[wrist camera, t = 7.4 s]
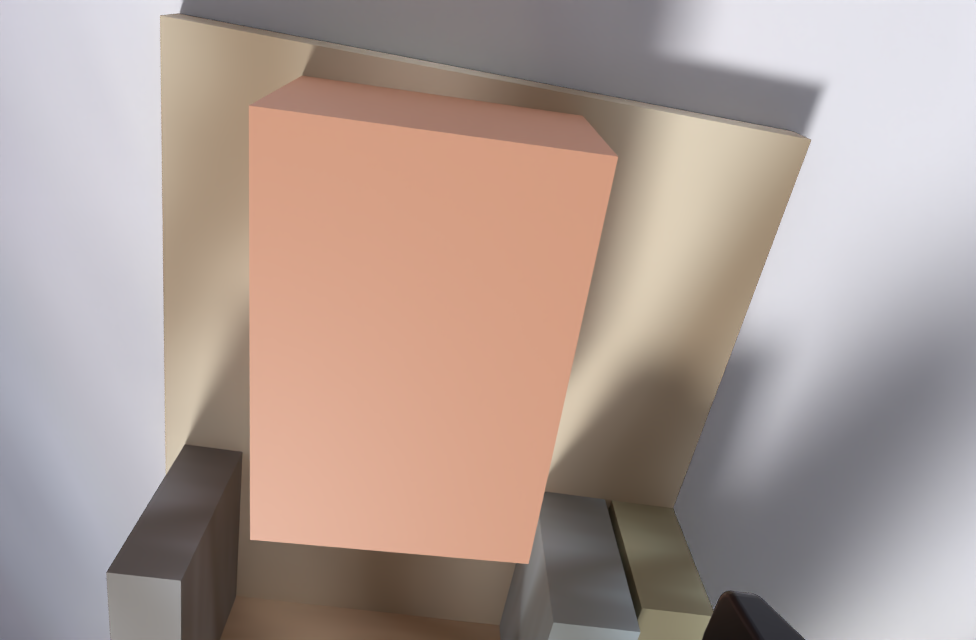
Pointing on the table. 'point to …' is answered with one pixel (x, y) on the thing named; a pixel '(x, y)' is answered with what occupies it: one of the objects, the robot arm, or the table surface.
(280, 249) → the pink rectangular block
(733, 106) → the table surface
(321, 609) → the shelf
